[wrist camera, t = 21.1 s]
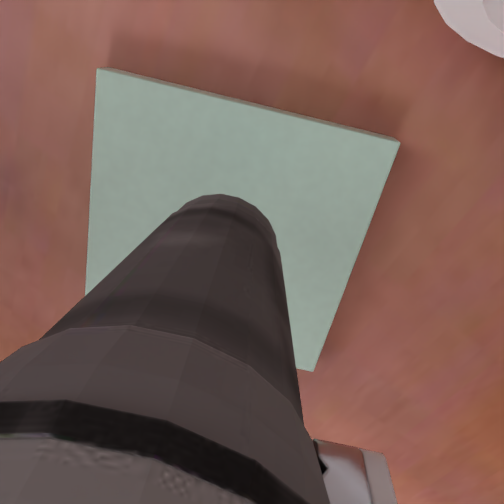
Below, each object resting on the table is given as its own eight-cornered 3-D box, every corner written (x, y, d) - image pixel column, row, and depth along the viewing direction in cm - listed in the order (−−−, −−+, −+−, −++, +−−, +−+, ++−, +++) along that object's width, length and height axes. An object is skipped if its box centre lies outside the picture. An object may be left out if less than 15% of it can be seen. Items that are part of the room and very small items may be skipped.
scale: (91, 321, 28) (70, 350, 25) (107, 66, 21) (80, 68, 18) (307, 369, 28) (310, 403, 26) (394, 137, 21) (410, 149, 19)
